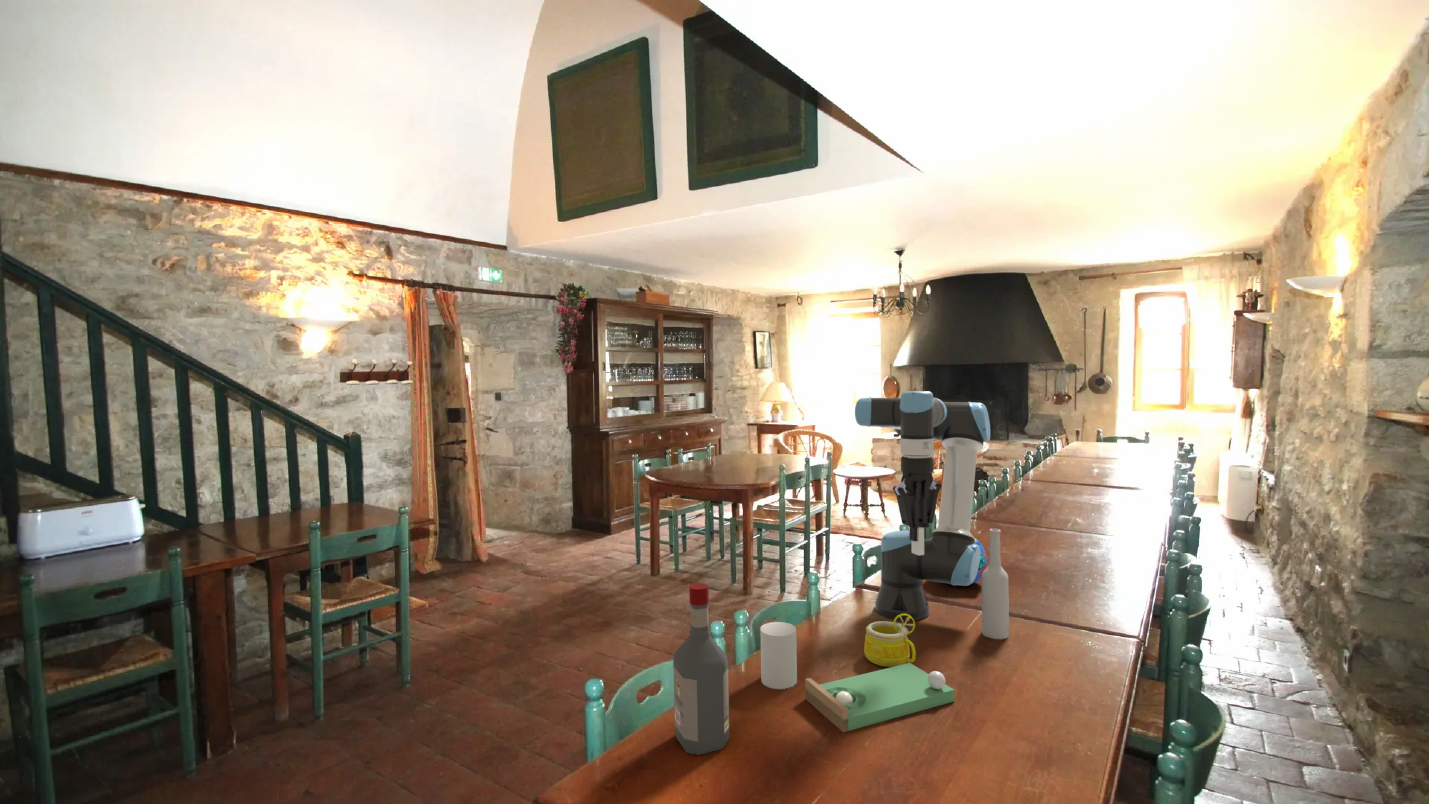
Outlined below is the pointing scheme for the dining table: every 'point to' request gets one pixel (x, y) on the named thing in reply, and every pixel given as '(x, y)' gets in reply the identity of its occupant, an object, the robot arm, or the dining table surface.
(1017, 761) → the dining table surface
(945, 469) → the robot arm
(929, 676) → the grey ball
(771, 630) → the cup
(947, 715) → the dining table surface
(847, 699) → the ball
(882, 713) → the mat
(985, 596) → the bottle
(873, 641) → the mug
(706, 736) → the liquor
